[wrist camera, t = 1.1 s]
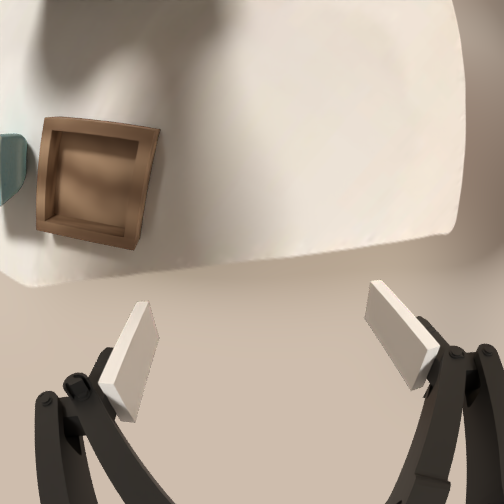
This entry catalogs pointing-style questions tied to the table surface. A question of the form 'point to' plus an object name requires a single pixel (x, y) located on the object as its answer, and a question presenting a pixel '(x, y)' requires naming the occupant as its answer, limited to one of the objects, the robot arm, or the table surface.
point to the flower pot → (12, 165)
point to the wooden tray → (94, 179)
